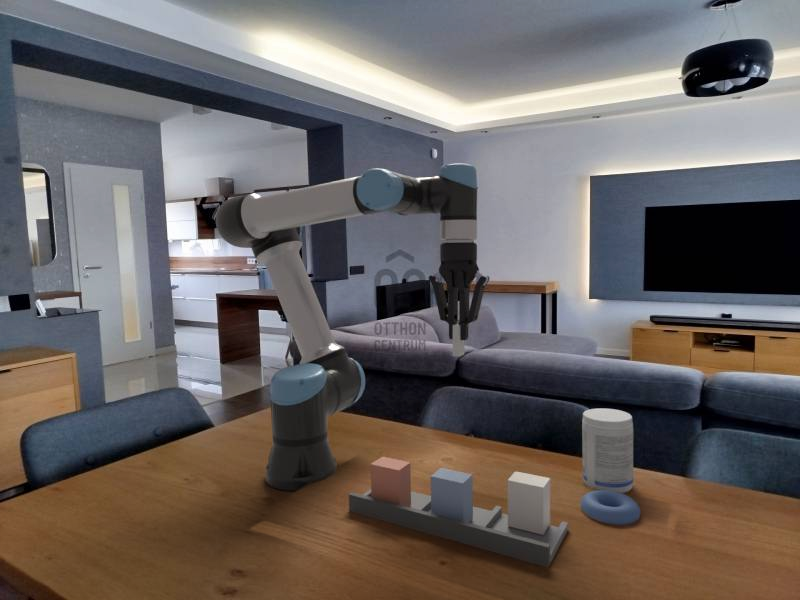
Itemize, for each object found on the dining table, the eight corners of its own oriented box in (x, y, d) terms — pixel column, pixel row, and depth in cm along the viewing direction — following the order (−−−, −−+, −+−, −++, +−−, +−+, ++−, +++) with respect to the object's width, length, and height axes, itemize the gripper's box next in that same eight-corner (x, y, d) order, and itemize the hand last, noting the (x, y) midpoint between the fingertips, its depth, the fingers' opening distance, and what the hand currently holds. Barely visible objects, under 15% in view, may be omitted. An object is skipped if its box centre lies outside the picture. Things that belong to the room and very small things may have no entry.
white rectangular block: (507, 525, 90) (507, 480, 89) (515, 515, 93) (515, 471, 93) (543, 535, 87) (543, 487, 86) (550, 524, 90) (550, 478, 90)
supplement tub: (642, 487, 107) (644, 416, 106) (613, 500, 102) (614, 425, 100) (600, 471, 115) (601, 404, 114) (571, 482, 110) (572, 412, 108)
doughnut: (627, 539, 88) (627, 511, 88) (570, 522, 95) (570, 496, 95) (648, 522, 95) (648, 496, 95) (593, 507, 102) (593, 483, 102)
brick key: (371, 506, 98) (370, 464, 97) (383, 497, 101) (382, 456, 100) (399, 514, 95) (399, 470, 94) (411, 504, 98) (410, 462, 97)
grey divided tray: (349, 518, 97) (348, 494, 97) (384, 491, 107) (384, 470, 107) (548, 576, 79) (548, 547, 78) (568, 538, 89) (568, 512, 88)
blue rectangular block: (431, 521, 92) (430, 476, 91) (441, 511, 95) (441, 467, 95) (463, 529, 89) (463, 483, 88) (472, 519, 92) (472, 474, 92)
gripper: (495, 241, 110) (494, 354, 112) (437, 242, 116) (438, 349, 119) (481, 241, 103) (481, 361, 106) (421, 242, 110) (422, 355, 112)
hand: (458, 354), depth 112 cm, fingers closed
